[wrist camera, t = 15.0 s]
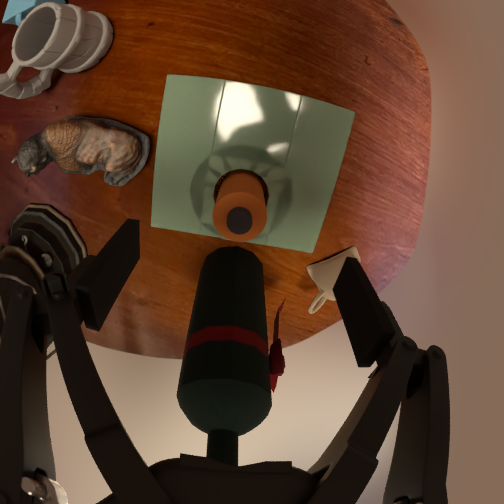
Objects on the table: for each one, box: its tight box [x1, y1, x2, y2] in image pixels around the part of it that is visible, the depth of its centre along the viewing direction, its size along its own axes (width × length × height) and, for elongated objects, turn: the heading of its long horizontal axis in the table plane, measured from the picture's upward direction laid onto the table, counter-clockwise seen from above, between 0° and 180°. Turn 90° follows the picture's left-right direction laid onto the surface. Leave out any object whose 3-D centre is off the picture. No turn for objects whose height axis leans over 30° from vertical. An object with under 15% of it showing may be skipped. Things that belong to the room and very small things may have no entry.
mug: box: [0, 2, 113, 99], centre depth 14 cm, size 8×12×12 cm, turn 127°
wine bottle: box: [177, 246, 286, 466], centre depth 21 cm, size 8×10×30 cm
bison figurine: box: [12, 116, 150, 186], centre depth 21 cm, size 12×7×10 cm, turn 72°
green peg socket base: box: [151, 74, 355, 253], centre depth 26 cm, size 18×16×2 cm
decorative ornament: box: [306, 246, 360, 314], centre depth 32 cm, size 4×8×5 cm, turn 115°
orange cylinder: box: [212, 169, 267, 242], centre depth 25 cm, size 4×4×9 cm
